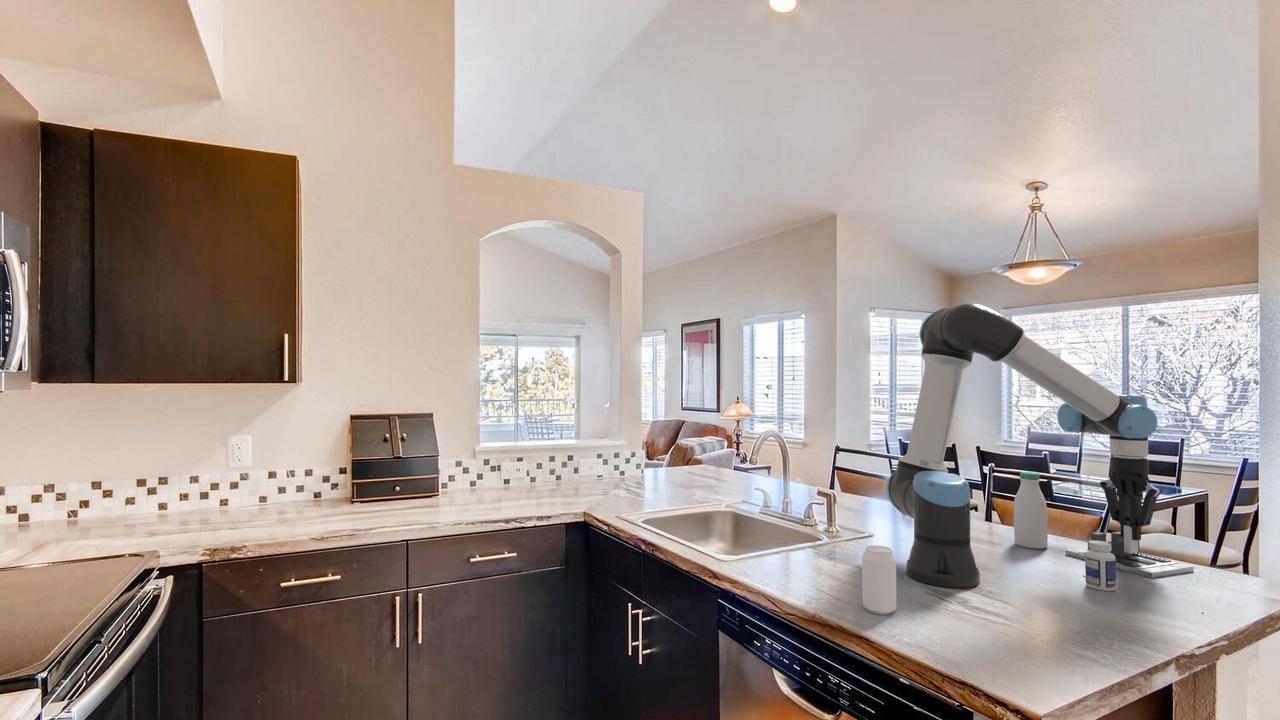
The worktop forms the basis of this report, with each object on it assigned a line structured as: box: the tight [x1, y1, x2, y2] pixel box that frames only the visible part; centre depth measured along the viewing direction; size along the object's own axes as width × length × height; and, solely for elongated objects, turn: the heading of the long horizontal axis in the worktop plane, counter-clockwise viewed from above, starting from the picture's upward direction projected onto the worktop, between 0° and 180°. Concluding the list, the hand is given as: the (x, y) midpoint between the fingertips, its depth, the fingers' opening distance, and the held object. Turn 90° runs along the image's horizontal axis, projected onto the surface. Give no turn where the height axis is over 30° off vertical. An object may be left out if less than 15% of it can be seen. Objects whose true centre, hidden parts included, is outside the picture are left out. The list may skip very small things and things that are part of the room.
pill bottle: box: [1084, 540, 1117, 592], centre depth 134 cm, size 5×5×10 cm
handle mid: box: [1107, 531, 1130, 557], centre depth 154 cm, size 4×3×5 cm
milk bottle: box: [1013, 471, 1049, 550], centre depth 168 cm, size 8×8×20 cm
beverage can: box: [861, 544, 897, 616], centre depth 120 cm, size 6×6×12 cm
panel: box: [1065, 546, 1194, 579], centre depth 152 cm, size 15×20×2 cm
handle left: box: [1087, 531, 1107, 550], centre depth 154 cm, size 4×3×5 cm
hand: (1131, 552), depth 152 cm, fingers closed
